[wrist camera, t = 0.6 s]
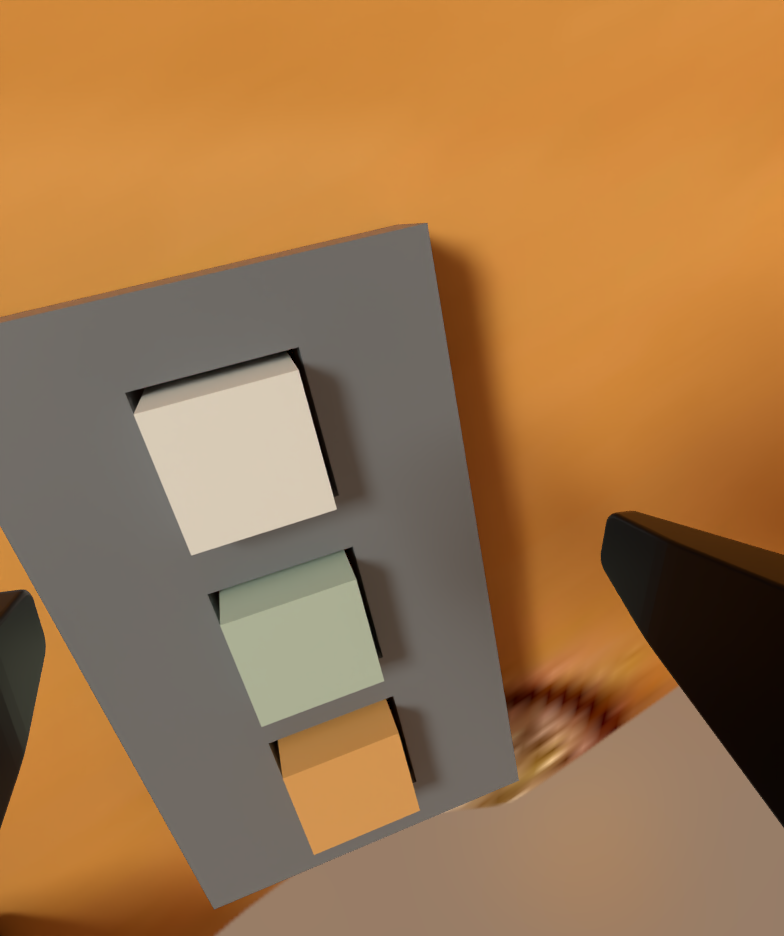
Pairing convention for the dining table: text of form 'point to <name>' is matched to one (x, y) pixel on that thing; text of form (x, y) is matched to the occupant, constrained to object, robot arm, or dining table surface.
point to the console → (202, 575)
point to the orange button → (347, 776)
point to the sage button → (300, 637)
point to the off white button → (236, 450)
